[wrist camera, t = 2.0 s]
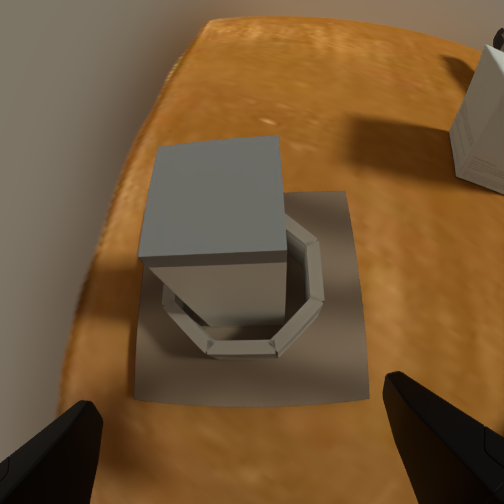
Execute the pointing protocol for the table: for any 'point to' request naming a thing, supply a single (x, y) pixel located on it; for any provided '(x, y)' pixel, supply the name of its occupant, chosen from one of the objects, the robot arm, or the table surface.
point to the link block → (220, 229)
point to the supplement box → (482, 125)
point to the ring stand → (266, 328)
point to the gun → (499, 40)
